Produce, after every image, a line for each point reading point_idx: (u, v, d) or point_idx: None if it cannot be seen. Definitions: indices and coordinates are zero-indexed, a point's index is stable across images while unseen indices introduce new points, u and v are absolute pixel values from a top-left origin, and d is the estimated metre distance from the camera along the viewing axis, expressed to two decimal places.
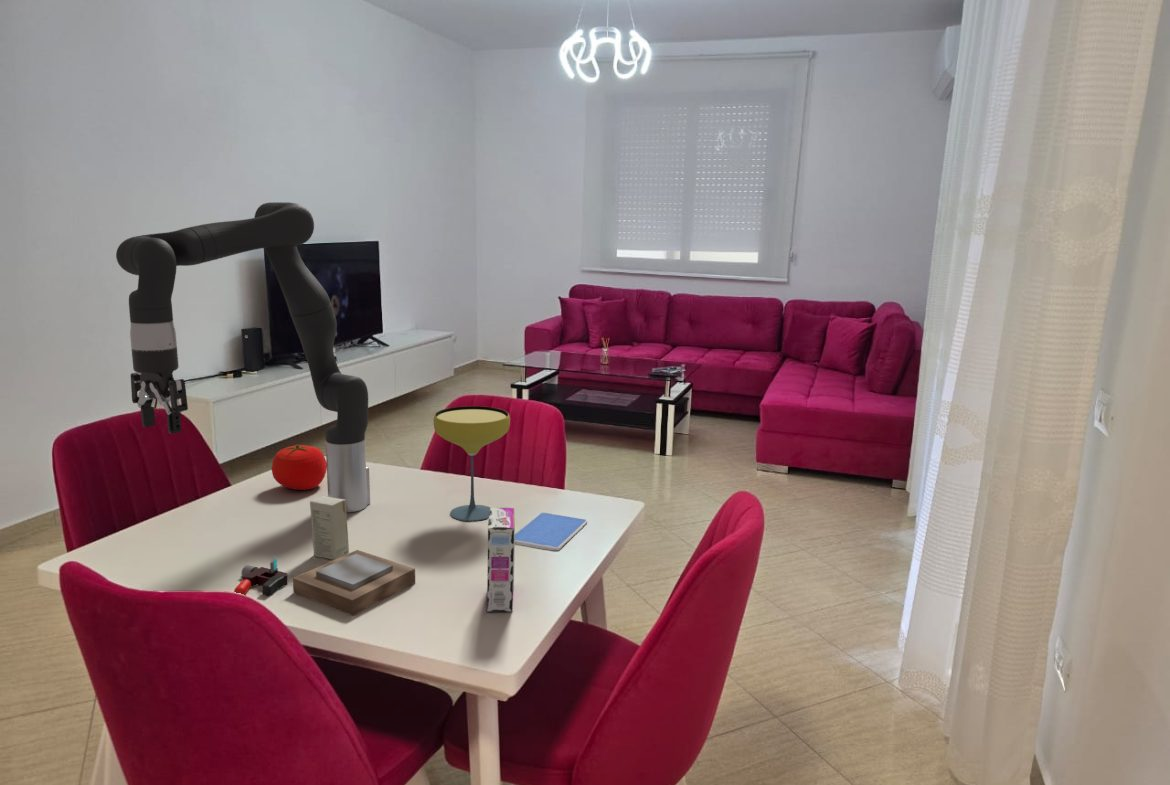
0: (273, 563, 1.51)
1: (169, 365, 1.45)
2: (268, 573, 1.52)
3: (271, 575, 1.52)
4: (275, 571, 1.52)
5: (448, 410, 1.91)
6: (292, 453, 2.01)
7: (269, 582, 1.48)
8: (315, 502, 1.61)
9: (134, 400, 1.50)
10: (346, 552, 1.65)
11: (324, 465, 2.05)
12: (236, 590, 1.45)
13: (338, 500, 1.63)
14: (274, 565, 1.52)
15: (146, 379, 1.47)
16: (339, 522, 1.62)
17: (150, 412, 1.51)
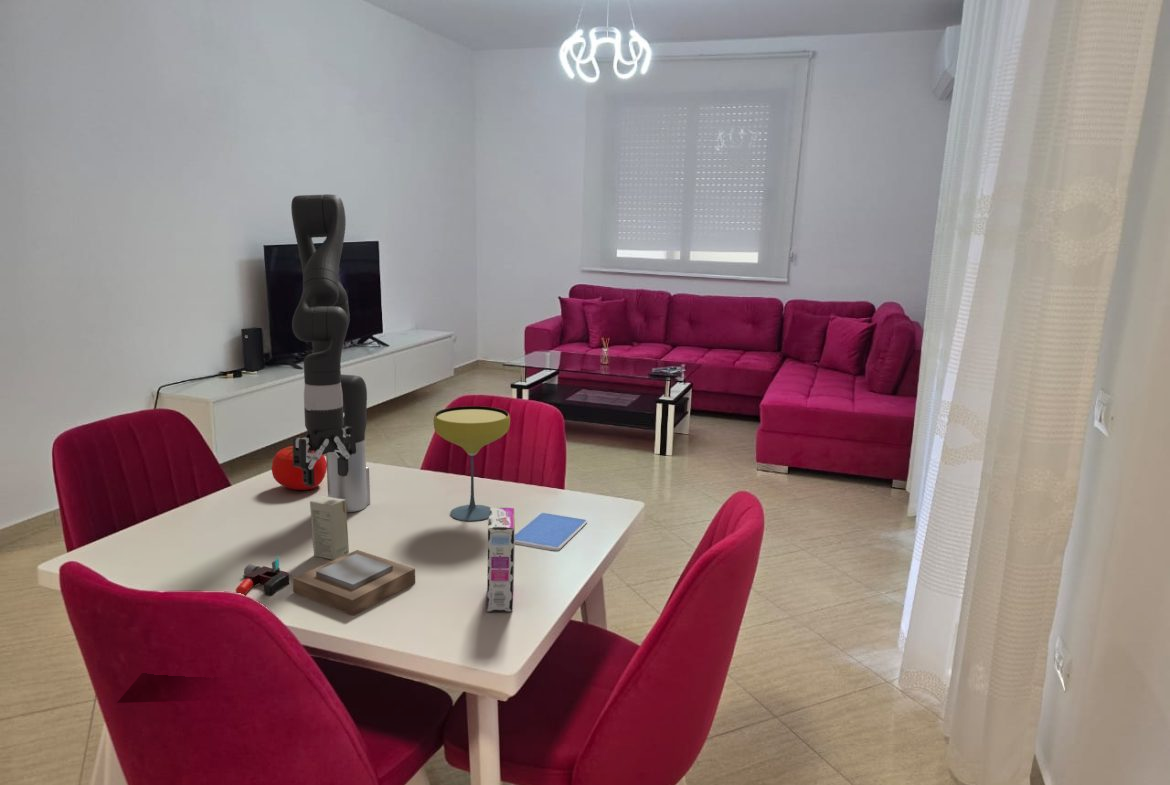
0: (275, 562, 1.51)
1: None
2: (270, 572, 1.52)
3: (273, 574, 1.52)
4: (277, 570, 1.52)
5: (448, 410, 1.91)
6: (292, 453, 2.01)
7: (270, 581, 1.48)
8: (315, 502, 1.61)
9: (305, 465, 1.55)
10: (346, 552, 1.65)
11: (324, 465, 2.05)
12: (238, 589, 1.45)
13: (338, 500, 1.63)
14: (276, 564, 1.52)
15: (322, 437, 1.58)
16: (339, 522, 1.62)
17: None
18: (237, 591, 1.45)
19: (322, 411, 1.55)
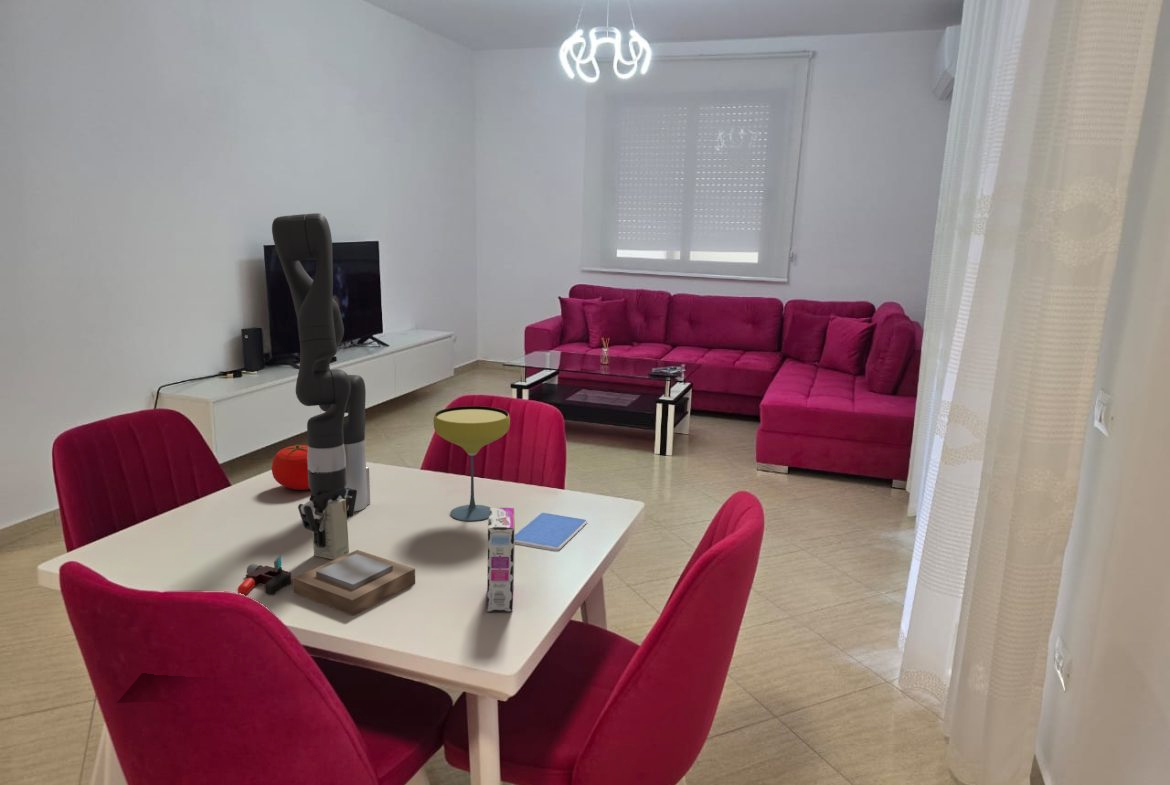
0: (277, 562, 1.51)
1: None
2: (272, 572, 1.52)
3: (275, 574, 1.52)
4: (279, 570, 1.52)
5: (448, 410, 1.91)
6: (292, 453, 2.01)
7: (272, 581, 1.48)
8: None
9: (315, 527, 1.59)
10: (346, 552, 1.65)
11: None
12: (239, 588, 1.46)
13: (338, 500, 1.63)
14: (278, 564, 1.52)
15: (325, 498, 1.61)
16: (339, 522, 1.62)
17: None
18: (239, 590, 1.46)
19: (325, 473, 1.58)
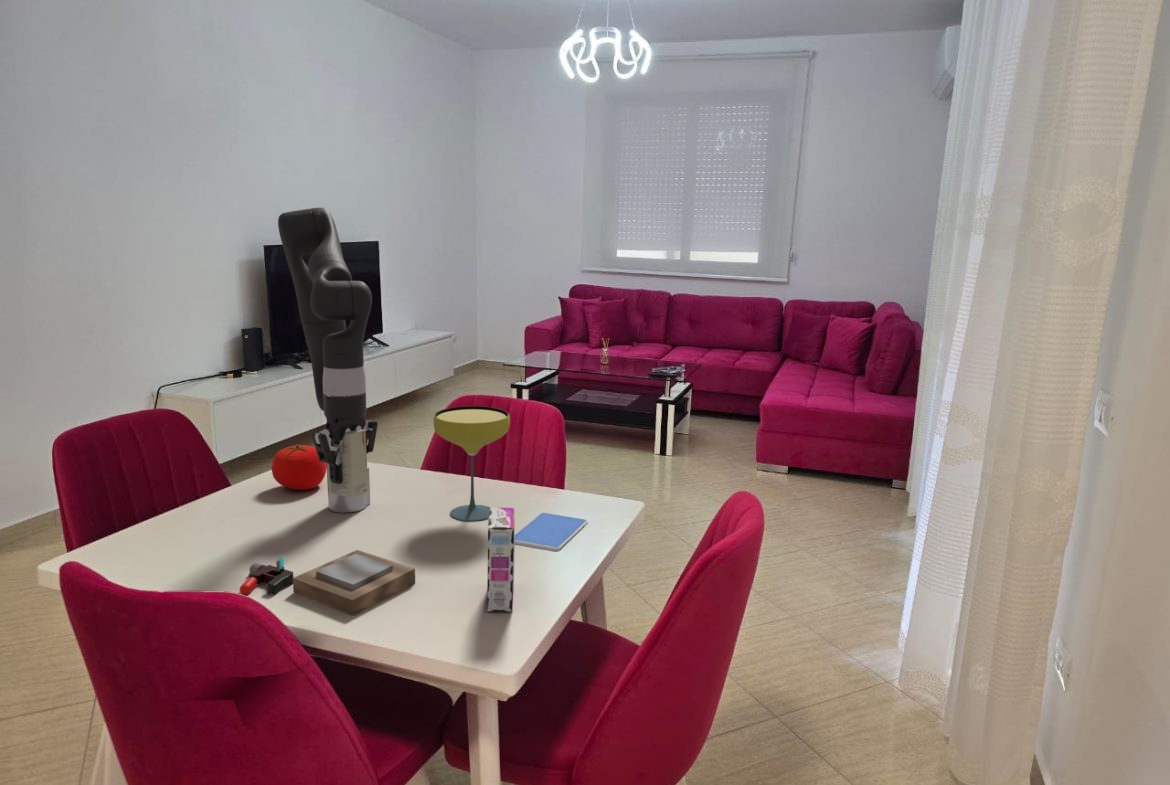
0: (279, 561, 1.52)
1: None
2: (275, 571, 1.52)
3: (277, 573, 1.52)
4: (281, 569, 1.52)
5: (448, 410, 1.91)
6: (292, 453, 2.01)
7: (274, 580, 1.48)
8: None
9: (331, 459, 1.41)
10: (365, 490, 1.46)
11: (324, 465, 2.05)
12: (241, 588, 1.46)
13: None
14: (280, 563, 1.52)
15: (343, 427, 1.42)
16: (358, 455, 1.44)
17: None
18: (241, 590, 1.46)
19: (343, 397, 1.39)
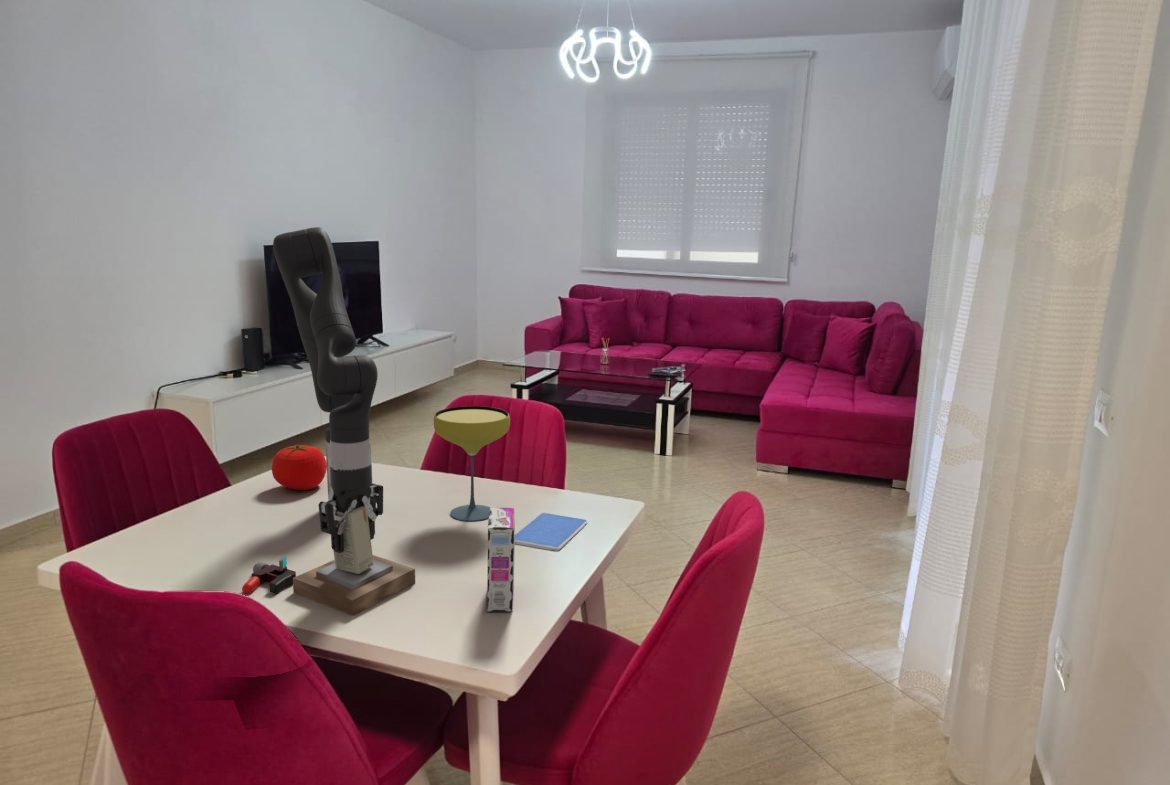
0: (282, 561, 1.52)
1: None
2: (277, 571, 1.53)
3: (280, 573, 1.52)
4: (284, 569, 1.52)
5: (448, 410, 1.91)
6: (292, 453, 2.01)
7: (276, 580, 1.48)
8: None
9: (333, 530, 1.42)
10: (370, 564, 1.49)
11: (324, 465, 2.05)
12: (244, 587, 1.46)
13: (358, 508, 1.46)
14: (283, 563, 1.52)
15: (349, 498, 1.45)
16: (360, 532, 1.46)
17: None
18: (243, 589, 1.46)
19: (350, 471, 1.42)
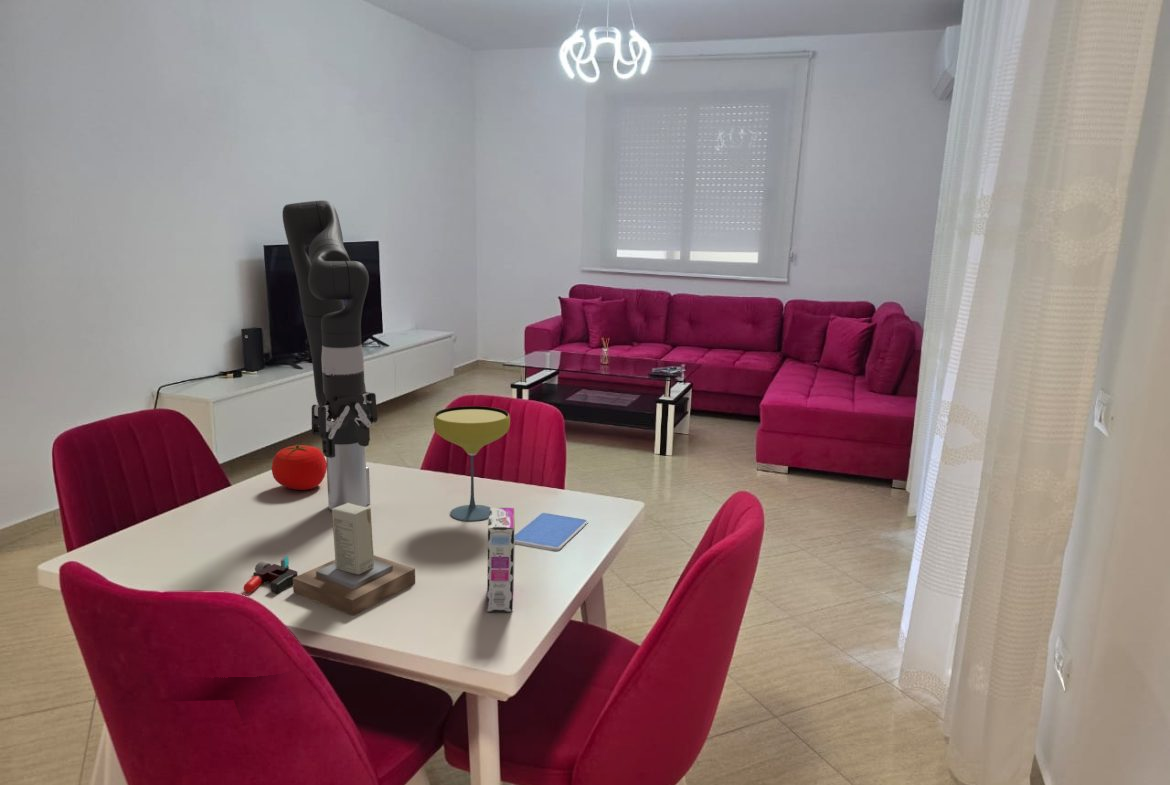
0: (284, 561, 1.52)
1: None
2: (279, 570, 1.53)
3: (282, 573, 1.53)
4: (286, 569, 1.53)
5: (448, 410, 1.91)
6: (292, 453, 2.01)
7: (277, 579, 1.49)
8: (337, 510, 1.46)
9: (325, 434, 1.43)
10: (371, 566, 1.49)
11: (324, 465, 2.05)
12: (245, 586, 1.47)
13: (362, 508, 1.47)
14: (285, 563, 1.53)
15: (342, 404, 1.46)
16: (363, 533, 1.46)
17: None
18: (244, 588, 1.47)
19: (342, 376, 1.43)
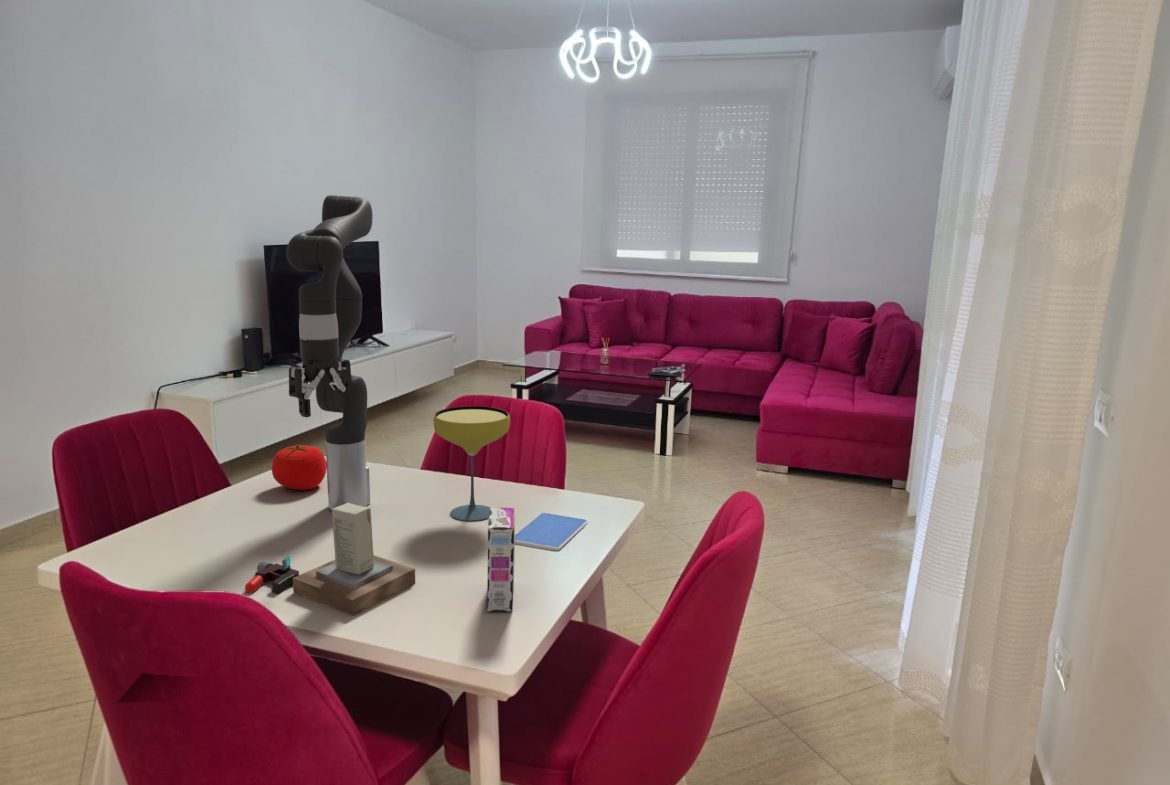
0: (285, 560, 1.52)
1: None
2: (281, 570, 1.53)
3: (284, 572, 1.53)
4: (287, 568, 1.53)
5: (448, 410, 1.91)
6: (292, 453, 2.01)
7: (279, 579, 1.49)
8: (337, 510, 1.46)
9: (300, 394, 1.55)
10: (371, 566, 1.49)
11: (324, 465, 2.05)
12: (246, 586, 1.47)
13: (362, 508, 1.47)
14: (287, 562, 1.53)
15: (317, 368, 1.58)
16: (363, 533, 1.46)
17: None
18: (246, 588, 1.47)
19: (317, 341, 1.55)
